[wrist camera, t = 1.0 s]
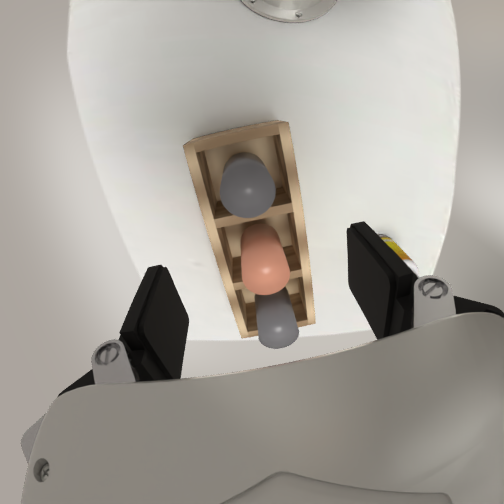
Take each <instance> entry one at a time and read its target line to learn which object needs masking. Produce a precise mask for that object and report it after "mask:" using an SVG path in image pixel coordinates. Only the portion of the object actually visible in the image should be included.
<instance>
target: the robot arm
mask: <svg viewBox="0 0 504 504" xmlns="http://www.w3.org/2000/svg"><path fill="white" fill-rule="evenodd" d="M241 1H242V2H243V3H244V4H245V5H246V6H247V7H249V8H250V9H251V10H252V11H254V12H256V13H258V14H260V15H262V16H264V17H267V18H269V19H273V20H277V21H281V22H290V23H294V22H306V21H311V20H314V19H317V18H319V17H321V16H323V15H324V14H326V13H327V12H328V11H329V10H330V9H331V8H332V7H333V6H334V5H335V3H336V1H337V0H241ZM250 2H254V3H250ZM296 16H299V18H297V17H296ZM347 249H348V283H349V287H350V290H351V292H352V293H353V295H354V297H355V299H356V301H357V302H358V304H359V306H360V308H361V310H362V312H363V313H364V315H365V317H366V319H367V321H368V323H369V325H370V326H371V328H372V330H373V332H374V334H375V336H376V338H377V340H375V341H372V342H369V343H365V344H362V345H359V346H355V347H351V348H348V349H344V350H340V351H336V352H332V353H328V354H324V355H320V356H316V357H312V358H308V359H303V360H299V361H294V362H289V363H284V364H279V365H274V366H268V367H263V368H257V369H251V370H245V371H239V372H232V373H225V374H218V375H210V376H202V377H193V378H183V379H180V378H181V371H182V364H183V357H184V351H185V344H186V338H187V332H188V326H189V317H188V314H187V312H186V310H185V308H184V305H183V303H182V301H181V299H180V296H179V294H178V292H177V290H176V287H175V285H174V283H173V280H172V278H171V275H170V273H169V271H168V269H167V267H163V266H162V265H157V266H152V267H148V269H147V271H146V273H145V275H144V277H143V279H142V282H141V284H140V286H139V288H138V290H137V293H136V295H135V297H134V299H133V302H132V304H131V307H130V309H129V311H128V314H127V316H126V318H125V321H124V323H123V326H122V328H121V330H120V334H121V335H120V338H119V340H109V341H107V342H104V343H103V344H101V345H100V346H99V347H98V348H97V349H96V350H95V351H94V353H93V355H92V361H91V362H92V368H93V369H92V370H90V371H89V372H88V373H86V374H85V375H84V376H82V377H81V378H80V379H78V380H77V381H76V382H74V383H73V384H71V385H70V386H69V387H68V388H66V389H65V390H63V391H62V392H61V393H60V394H59V395H58V397H57V398H56V399H55V400H54V401H53V403H52V404H51V406H50V407H49V409H48V411H47V413H46V414H45V415H44V416H42V418H40V419H39V420H38V421H37V422H36V423H35V424H34V425H33V426H31V427H30V428H29V429H28V430H27V431H26V432H25V433H24V435H23V437H22V439H21V446H22V450H23V452H24V455H25V457H26V460H27V462H28V468H27V473H26V478H25V482H24V487H23V493H22V499H21V504H504V313H503V312H502V311H501V310H500V309H498V308H497V307H495V306H492V305H488V304H484V303H480V302H476V301H472V300H468V299H464V298H461V297H457V296H453V291H452V288H451V285H450V284H449V283H448V282H447V281H446V280H445V279H443V278H441V277H438V276H433V275H428V276H423V277H420V278H418V276H417V275H416V274H415V273H414V272H413V271H412V270H411V269H410V268H409V266H408V265H407V264H406V263H405V262H404V261H403V260H402V259H401V258H400V257H399V256H398V255H397V254H396V252H395V251H394V250H393V249H392V248H390V247H389V246H388V245H387V244H386V243H385V242H384V241H383V240H382V239H381V238H380V237H379V236H378V235H377V234H376V233H375V232H374V231H373V230H372V229H371V228H370V227H369V226H368V225H367V224H366V223H365V222H364V221H363V222H359V223H354V224H351V226H350V228H347Z"/></svg>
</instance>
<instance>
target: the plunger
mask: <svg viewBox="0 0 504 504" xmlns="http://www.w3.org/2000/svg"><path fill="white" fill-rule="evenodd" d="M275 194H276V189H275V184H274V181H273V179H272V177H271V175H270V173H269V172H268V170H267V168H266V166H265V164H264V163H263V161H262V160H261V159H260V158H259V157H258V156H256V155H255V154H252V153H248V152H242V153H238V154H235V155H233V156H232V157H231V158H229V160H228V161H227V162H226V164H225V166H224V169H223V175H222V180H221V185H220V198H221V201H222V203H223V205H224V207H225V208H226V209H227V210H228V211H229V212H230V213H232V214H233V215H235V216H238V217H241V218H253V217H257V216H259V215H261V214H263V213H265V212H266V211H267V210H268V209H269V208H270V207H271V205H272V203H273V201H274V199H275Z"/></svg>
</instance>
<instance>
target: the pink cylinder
mask: <svg viewBox="0 0 504 504" xmlns="http://www.w3.org/2000/svg"><path fill="white" fill-rule="evenodd" d="M240 247H241V267H242V280H243V283H244V285H245V286H246V288H247V289H248V290H250V291H251V292H253V293H255V294H259V295H270V294H274V293H276V292H278V291H280V290H281V289H283V288H284V287H285V286H286V284H287V283H288V281H289V278H290V269H289V266H288V263H287V260H286V257H285V254H284V251H283V248H282V245H281V242H280V239H279V236H278V233H277V232H276V230H275V229H274V228H273V227H271V226H269V225H267V224H254V225H251V226H250V227H248V228H247V229H246V230H245V231H244V232H243V234H242V236H241V239H240Z"/></svg>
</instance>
